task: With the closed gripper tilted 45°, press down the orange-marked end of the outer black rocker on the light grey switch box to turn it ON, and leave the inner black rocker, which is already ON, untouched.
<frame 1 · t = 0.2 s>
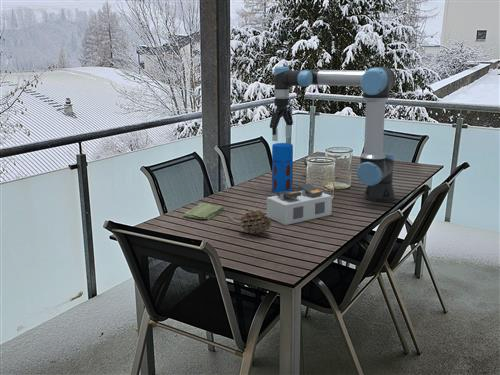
hand: (281, 139, 263), 28 cm above the table, tool pointing down, fingers open, 13 cm apart
pine cone: (247, 232, 211), on the table
washcloth: (204, 215, 234), on the table
bowl: (319, 177, 300), on the table
inner rocker: (310, 190, 230), point 11 cm above the table, hinge at 10.0°
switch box: (299, 215, 230), on the table
thermos: (282, 191, 271), on the table
outer rocker: (288, 194, 224), point 11 cm above the table, hinge at -10.0°
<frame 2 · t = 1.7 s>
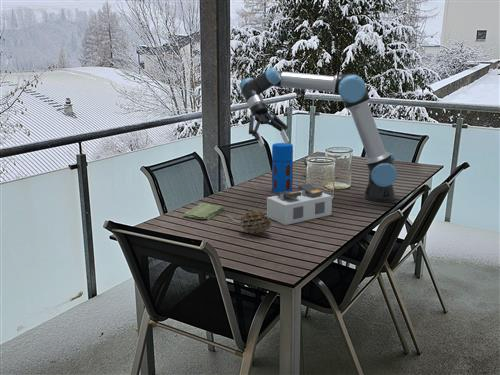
hand: (275, 144, 228), 32 cm above the table, tool tilted 45°, fingers open, 13 cm apart
nothing on the table moved.
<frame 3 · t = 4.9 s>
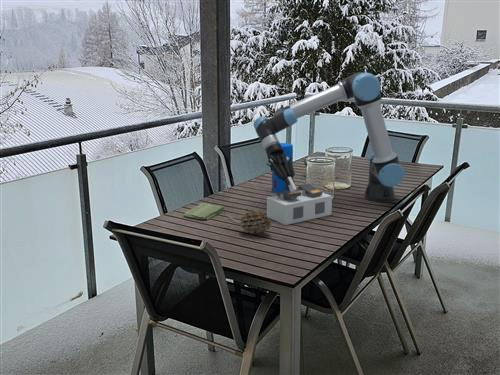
hand: (294, 190, 220), 14 cm above the table, tool tilted 45°, fingers closed
outer rocker: (288, 194, 224), point 11 cm above the table, hinge at -9.4°, touching gripper
everything else where it was.
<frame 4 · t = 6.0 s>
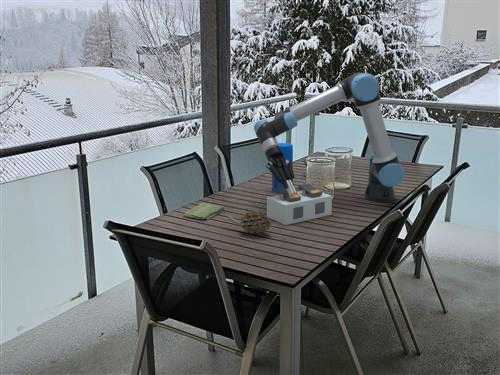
hand: (292, 193, 220), 12 cm above the table, tool tilted 45°, fingers closed, pressing on outer rocker
outer rocker: (288, 194, 224), point 11 cm above the table, hinge at 15.4°, touching gripper
everything else where it was.
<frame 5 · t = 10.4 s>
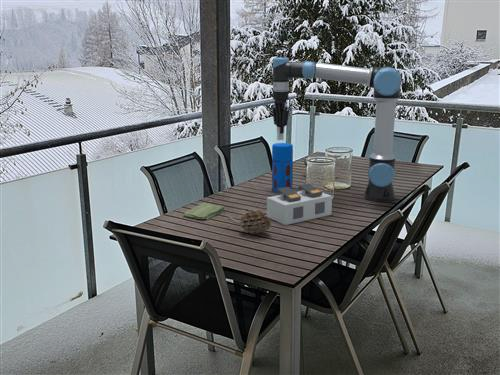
hand: (280, 139, 247), 30 cm above the table, tool pointing down, fingers closed
outer rocker: (288, 194, 224), point 11 cm above the table, hinge at 13.8°
everything else where it was.
at the end: outer rocker at +14° (first picture: -10°); inner rocker at +10° (first picture: +10°) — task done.
